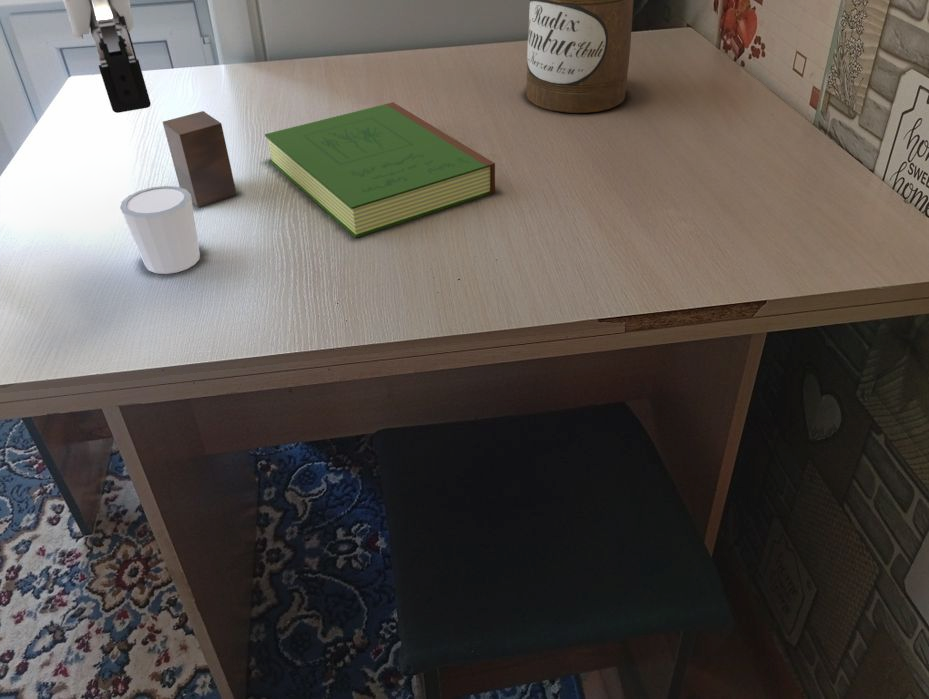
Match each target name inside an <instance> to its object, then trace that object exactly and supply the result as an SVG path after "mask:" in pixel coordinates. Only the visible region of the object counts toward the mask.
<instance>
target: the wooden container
mask: <svg viewBox="0 0 929 699" xmlns="http://www.w3.org/2000/svg"><path fill="white" fill-rule="evenodd" d="M528 9H529V11H528V14H529V16H528V29H527V30H528V33H527V53H526V54H527V55H526V98H527V100H529V101H530V102H531V103H532V104H533V105H536V106H538V107H539V108H542V109H545V110H549V111H552V112H559V113H567V114H585V113H598V112H603V111H607V110H609V109H612V108H615V107H617V106H618V105H621V103H623V102H624V100H625V98H626V91H627V82H628V72H629V64H630V53H631V45H632V44H631V42H632V28H633V15H634V14H633V12H634V0H529V8H528Z"/></svg>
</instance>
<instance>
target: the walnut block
mask: <svg viewBox="0 0 929 699" xmlns="http://www.w3.org/2000/svg"><path fill="white" fill-rule="evenodd" d="M162 125H163V129H164V133H165V138H166V141H167V145H168V148H169V152H170V155H171V156H170V157H171V159H172V164H173V167H174V171H175V175H176V178H177V183H178V187H180V188H183V189H186V190H187V191H188V192H189V193H190V194H191V199H192V205H193V206H196V207H197V208H201V207H205V206H207V205H210V204H213V203H216V202H220V201H223V200H225V199H226V200H227V199H228V198H232V197H235V196H237V195H238V193H237V189H236V184H235V180H234V175H233V171H232V167H231V162H230V156H229V153H228V148H227V144H226V139H225V134H224V133H225V132H224V129H223V124H222V122H220V121H219V120H218V119H216V118H214V117H213V116H211V115H210V114H208V113H207V112H206V111H204V110H201V111H198V112H194V113H190V114H186V115H183V116H178V117H175V118H171V119H168V120H163V121H162Z"/></svg>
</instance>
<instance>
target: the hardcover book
mask: <svg viewBox="0 0 929 699" xmlns="http://www.w3.org/2000/svg"><path fill="white" fill-rule="evenodd" d="M264 137H265V138H266V139H267V142H268V146H269V152H270V158H271V159H269V163H270V164H271V165H273V166H274V167H275V169H277V170H278V171H279V172H280V173H281V174H283V175H284V176H285V178H287V179H288V180H289V181H290V182H292V183H293V184H294V185H295V186H296V187H297V188H298V189H300V190H301V191H302V192H303V193H304V194H305V195H306V196H307V197H308V198H309V199H311V201H313V202H314V203H315V204H316V205H317V206H318V207H320V208H321V209H322V210H323V211H324V212H325V213H326V214H327V215H329V217H331V218H332V219H333V220H334V221H335V222H336V223H337V224H339V225H340V226H341V227H342V228H343V229H344V230H346V231H347V232H348V234H350V235H351V236H352V237H353V238H354V239H357V238H359V237H363V236H366V235H369V234H371V233H375V232H378V231H381V230H384V229H387V228H391V227H393V226H396V225H400V224H402V223H405V222H409V221H412V220H415V219H417V218H421V217H424V216H427V215H430V214H433V213H436V212H439V211H443V210H446V209H448V208H451V207H456V206H458V205H462V204H464V203H467V202H470V201H473V200H476V199H480V198H482V197H485V196H488V195H491V194H495V193H496V163H495V162H494V161H492V160H491V159H489V158H487V157H485V156H484V155H482V154H481V153H479V152H478V151H476V150H473V149H472V148H471V147H469V146H467V145H466V144H463V143H462V142H460V141H459V140H457V139H455V138H454V137H452V136H450V135H449V134H448V133H446V132H444V131H442V130H440V129H439V128H438V127H435V126H433V125H432V124H430V123H429V122H427V121H426V120H424V119H422V118H420V117H418V116H417V115H415V114H414V113H412V112H410V111H408V110H407V109H405V108H403V107H402V106H401V105H399V104H397V103H395V102H392V101H391V102H389V103H384V104H381V105H375V106H373V107H367V108H364V109H360V110H355V111H352V112H348V113H344V114H340V115H336V116H333V117H332V116H331V117H328V118H324V119H320V120H317V121H312V122H308V123H304V124H300V125H295V126H292V127H288V128H284V129H280V130H276V131H272V132H268V133H264Z"/></svg>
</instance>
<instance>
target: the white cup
mask: <svg viewBox="0 0 929 699" xmlns="http://www.w3.org/2000/svg"><path fill="white" fill-rule="evenodd" d="M119 209H120V211H121V213H122V216H123V218H124V220H125V223H126V225H127V228H128V230H129V232H130V234H131V237H132V239H133V241H134V244H135V246H136V248H137V250H138V252H139V255H140V257H141V260H142V262H143V264H144V267H145V268H146V269H147V270H148V271H149V272H152V273H154V274H160V275H169V274H176V273H177V274H178V273H179V272H183V271H187V270H188V269H190V268H192V267H193V266H195V265H196V264H197V263H198V261H199V260H200V257H201V252H200V246H199V240H198V233H197V225H196V219H195V214H194V205H193V203H192V199H191V194H190V193H189V192H188V191H187V190H186V189H183V188H180V186H174V185H172V186H171V185H161V186H152V187H148V188H145V189H140V190H138V191H136V192H134V193H132V194H129V195H128V196H126V198H125V199H123V200H122V201H121V202H120V207H119Z"/></svg>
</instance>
